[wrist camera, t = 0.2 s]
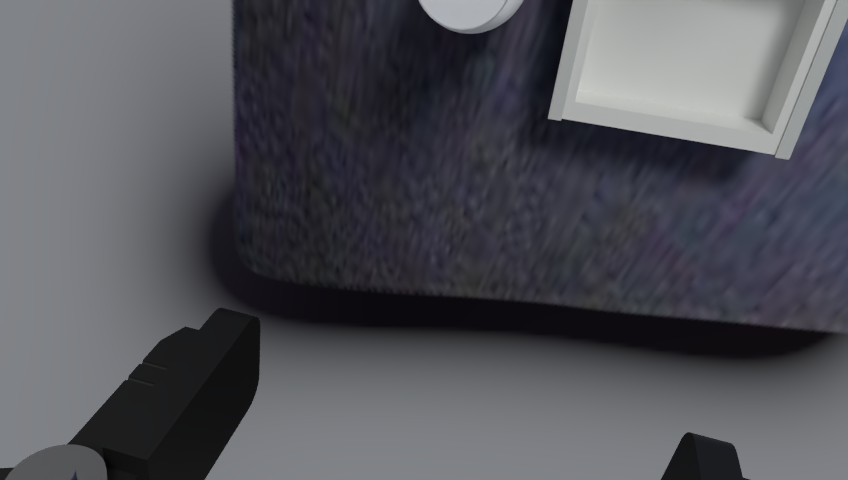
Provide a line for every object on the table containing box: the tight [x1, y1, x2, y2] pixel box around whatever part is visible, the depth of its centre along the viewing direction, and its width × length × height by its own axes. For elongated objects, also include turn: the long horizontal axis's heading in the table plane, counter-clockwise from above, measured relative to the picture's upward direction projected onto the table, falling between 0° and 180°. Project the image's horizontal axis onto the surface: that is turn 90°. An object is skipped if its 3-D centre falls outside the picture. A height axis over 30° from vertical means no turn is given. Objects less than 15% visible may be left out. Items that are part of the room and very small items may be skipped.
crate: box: [548, 0, 848, 160], centre depth 34 cm, size 10×12×3 cm
